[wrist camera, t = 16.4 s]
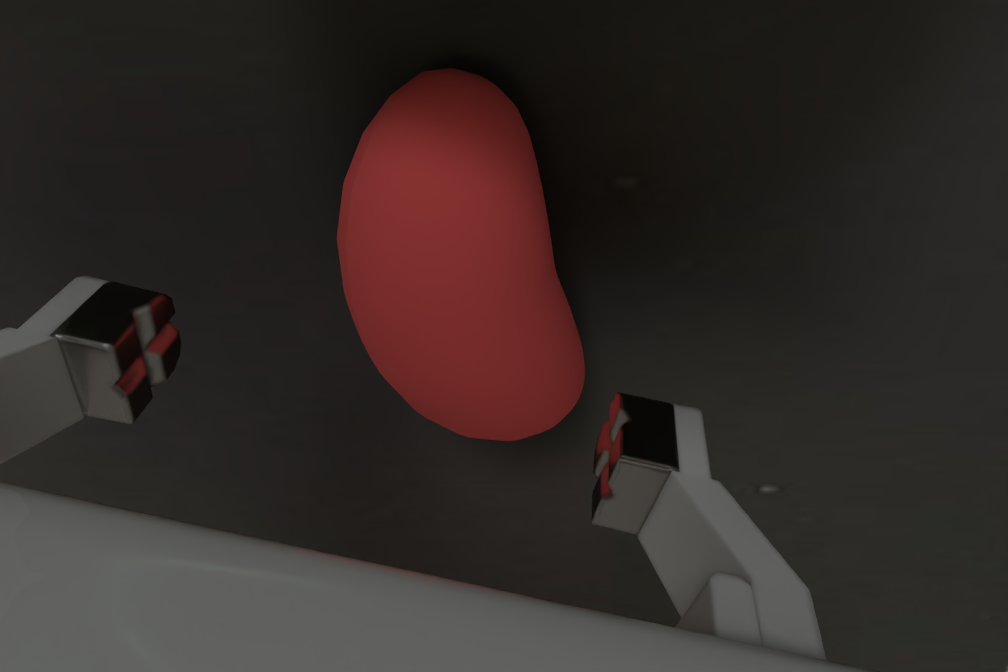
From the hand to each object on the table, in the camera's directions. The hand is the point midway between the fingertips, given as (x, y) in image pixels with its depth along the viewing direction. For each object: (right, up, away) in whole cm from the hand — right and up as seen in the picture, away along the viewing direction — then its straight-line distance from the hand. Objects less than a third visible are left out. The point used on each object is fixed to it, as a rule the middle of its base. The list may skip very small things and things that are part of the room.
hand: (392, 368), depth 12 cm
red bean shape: (+2, +3, +6) cm, 7 cm away
